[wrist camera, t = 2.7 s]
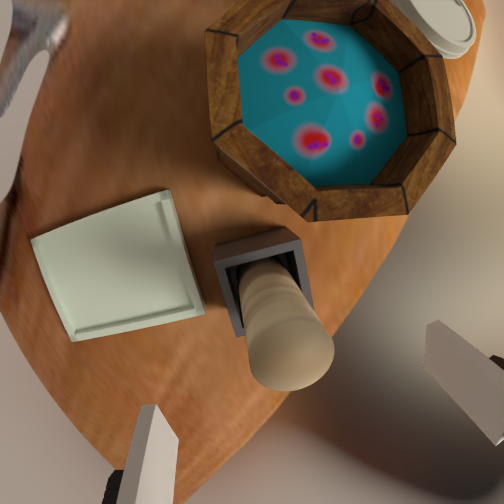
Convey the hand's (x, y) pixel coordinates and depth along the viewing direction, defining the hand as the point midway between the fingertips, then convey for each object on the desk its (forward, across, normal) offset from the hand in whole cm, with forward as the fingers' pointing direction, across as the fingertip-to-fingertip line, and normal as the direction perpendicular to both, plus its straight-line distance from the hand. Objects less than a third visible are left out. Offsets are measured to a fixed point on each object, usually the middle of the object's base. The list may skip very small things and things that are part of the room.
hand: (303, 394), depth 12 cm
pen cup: (+17, 0, 0) cm, 17 cm away
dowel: (+16, 0, 0) cm, 16 cm away
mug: (+17, +7, +16) cm, 24 cm away
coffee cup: (+17, +18, +20) cm, 32 cm away
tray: (+17, -14, +4) cm, 22 cm away
